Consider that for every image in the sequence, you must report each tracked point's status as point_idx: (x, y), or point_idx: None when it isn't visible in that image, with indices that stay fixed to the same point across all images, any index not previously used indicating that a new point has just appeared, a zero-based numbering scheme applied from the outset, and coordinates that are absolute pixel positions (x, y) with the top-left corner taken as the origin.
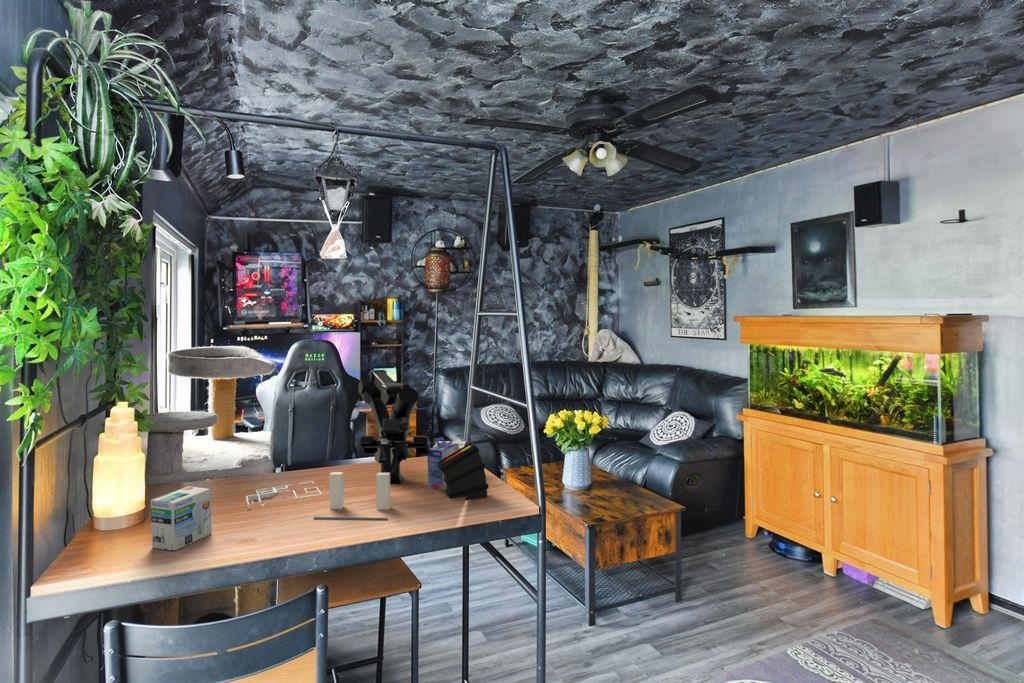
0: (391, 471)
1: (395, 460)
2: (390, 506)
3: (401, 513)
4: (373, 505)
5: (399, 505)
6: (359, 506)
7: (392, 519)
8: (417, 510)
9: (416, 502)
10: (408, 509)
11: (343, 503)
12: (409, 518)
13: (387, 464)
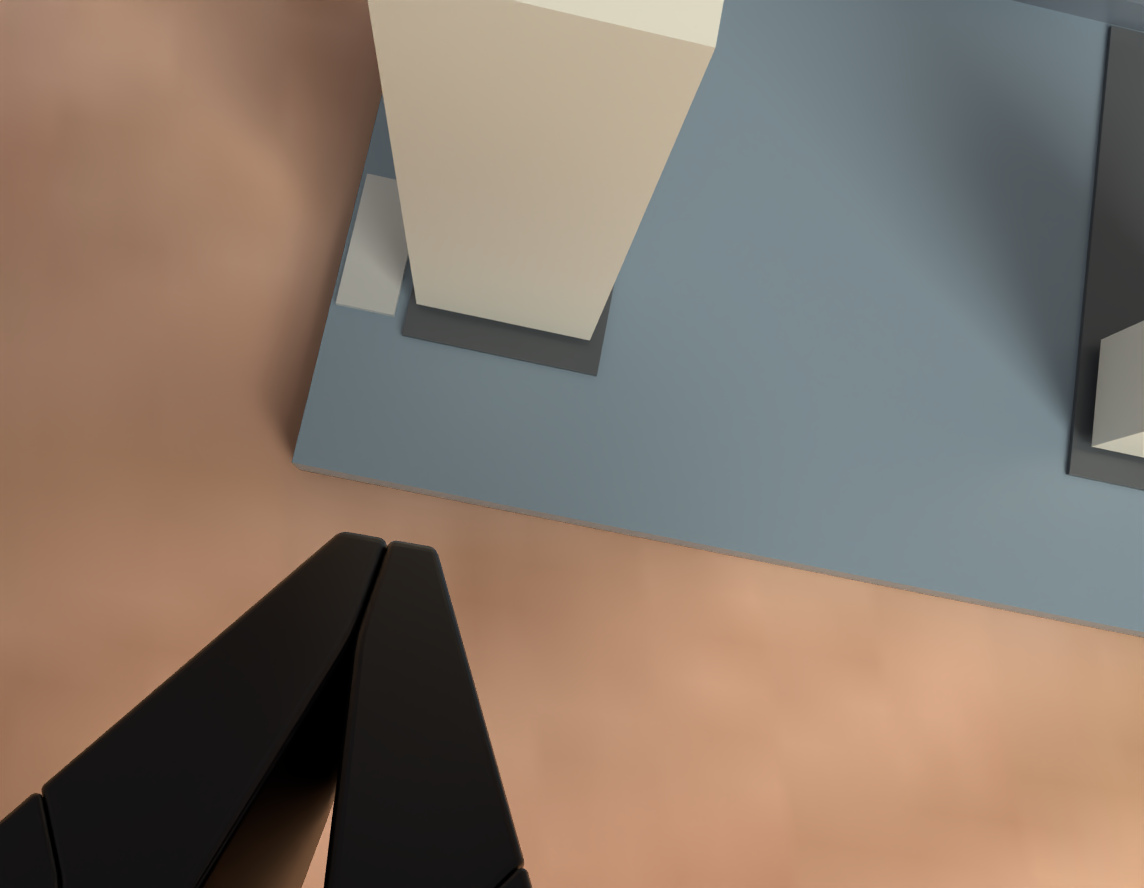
0: (345, 535)
1: (102, 766)
2: (416, 301)
3: (263, 219)
4: (685, 622)
5: (291, 561)
6: (882, 609)
7: None
8: (22, 297)
9: (9, 665)
10: (156, 362)
11: (1128, 406)
12: (157, 17)
13: (475, 689)
